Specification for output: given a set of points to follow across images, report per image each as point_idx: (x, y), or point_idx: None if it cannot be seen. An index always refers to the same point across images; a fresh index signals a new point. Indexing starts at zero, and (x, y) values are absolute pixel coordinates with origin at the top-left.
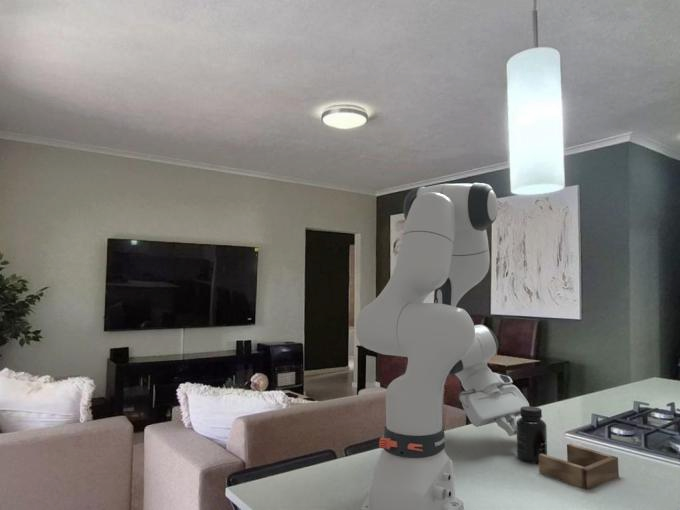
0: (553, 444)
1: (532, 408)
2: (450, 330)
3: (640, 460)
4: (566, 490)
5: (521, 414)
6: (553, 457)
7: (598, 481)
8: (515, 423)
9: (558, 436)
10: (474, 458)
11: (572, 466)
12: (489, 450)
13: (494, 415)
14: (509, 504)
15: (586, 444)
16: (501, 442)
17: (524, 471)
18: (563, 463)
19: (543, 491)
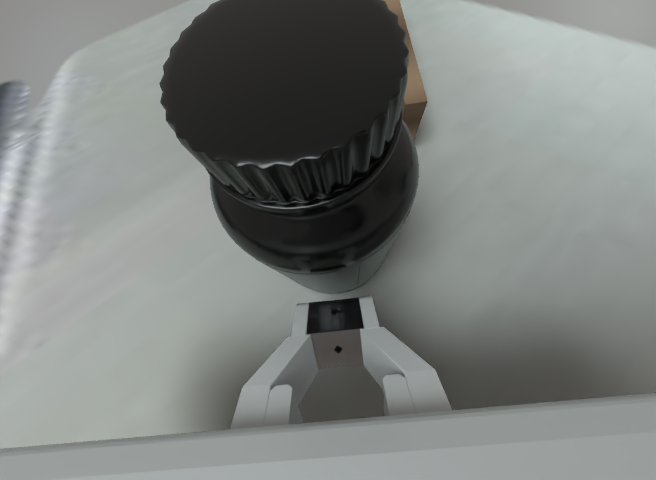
0: (124, 312)
1: (256, 53)
2: None
3: (86, 98)
4: (434, 50)
5: (394, 139)
6: None
7: None
8: (297, 342)
9: (8, 374)
10: (558, 368)
11: (399, 6)
12: None
13: (610, 410)
14: (646, 46)
15: (42, 249)
16: None
17: (447, 174)
18: (405, 28)
19: (498, 64)
